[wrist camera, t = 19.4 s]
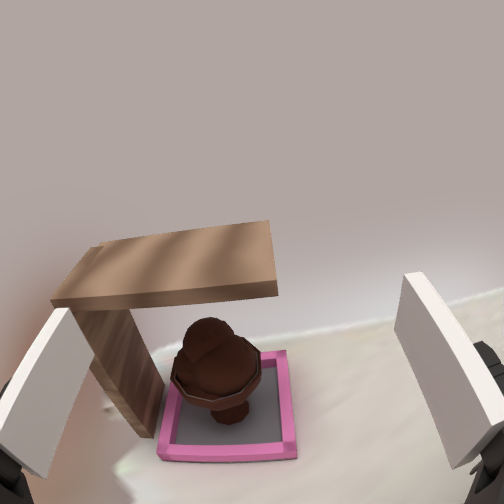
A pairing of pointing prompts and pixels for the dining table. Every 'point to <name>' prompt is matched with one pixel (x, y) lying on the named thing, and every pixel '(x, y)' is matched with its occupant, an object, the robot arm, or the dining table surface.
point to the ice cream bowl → (217, 370)
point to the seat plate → (239, 434)
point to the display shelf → (158, 299)
